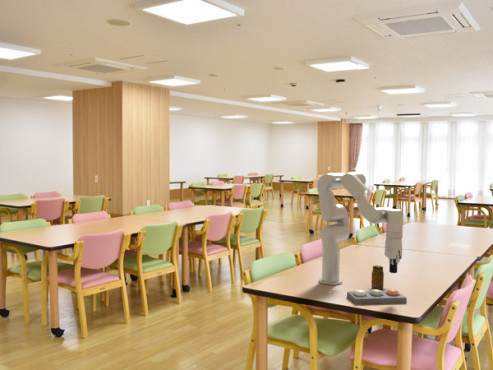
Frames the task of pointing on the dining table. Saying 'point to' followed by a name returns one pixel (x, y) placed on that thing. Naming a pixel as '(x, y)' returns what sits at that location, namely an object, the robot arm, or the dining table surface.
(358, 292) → the button cream
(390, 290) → the button terracotta
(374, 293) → the button sage
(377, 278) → the condiment
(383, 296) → the panel
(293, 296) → the dining table surface
